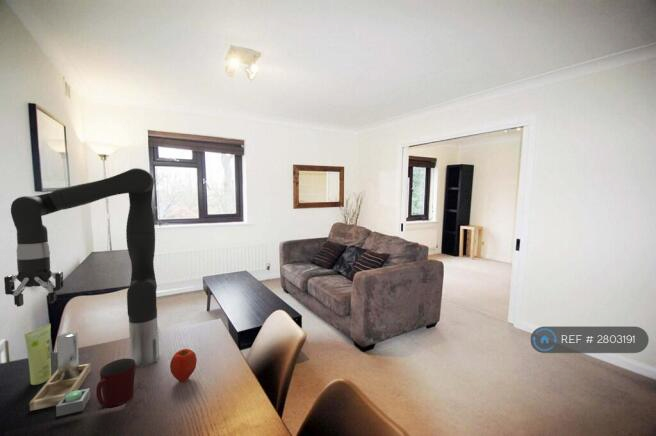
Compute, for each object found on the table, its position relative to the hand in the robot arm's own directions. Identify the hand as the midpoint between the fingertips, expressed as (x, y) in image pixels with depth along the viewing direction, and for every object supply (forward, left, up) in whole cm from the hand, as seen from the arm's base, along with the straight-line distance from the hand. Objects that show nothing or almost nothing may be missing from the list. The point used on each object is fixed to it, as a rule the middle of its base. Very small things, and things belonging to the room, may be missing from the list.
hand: (36, 304), depth 94 cm
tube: (0, 0, -28) cm, 28 cm away
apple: (-45, +17, -28) cm, 56 cm away
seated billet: (-9, +4, -27) cm, 29 cm away
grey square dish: (-16, +20, -28) cm, 37 cm away
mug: (-26, +21, -28) cm, 44 cm away
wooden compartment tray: (-9, +8, -28) cm, 30 cm away
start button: (-15, +19, -26) cm, 36 cm away
